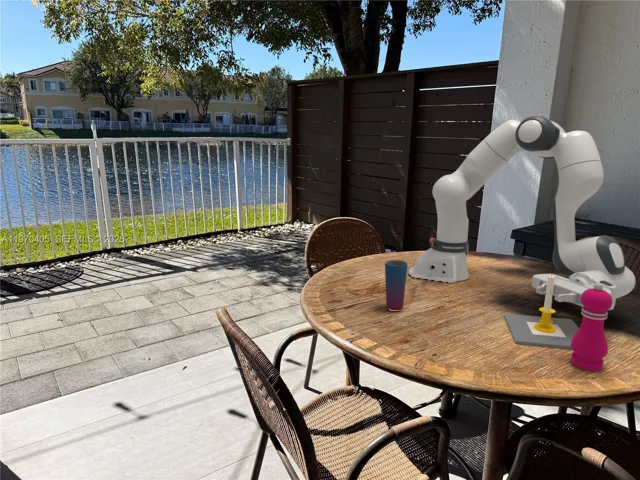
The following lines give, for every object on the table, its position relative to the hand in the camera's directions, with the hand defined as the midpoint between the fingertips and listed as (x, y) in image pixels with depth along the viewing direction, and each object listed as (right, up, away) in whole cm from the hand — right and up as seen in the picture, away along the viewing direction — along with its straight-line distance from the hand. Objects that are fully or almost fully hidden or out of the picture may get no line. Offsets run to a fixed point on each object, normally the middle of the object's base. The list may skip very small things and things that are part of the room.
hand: (547, 294), depth 112 cm
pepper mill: (+2, -15, -13) cm, 20 cm away
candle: (+1, -10, +3) cm, 10 cm away
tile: (+1, -11, +3) cm, 11 cm away
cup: (-37, -7, +19) cm, 42 cm away
